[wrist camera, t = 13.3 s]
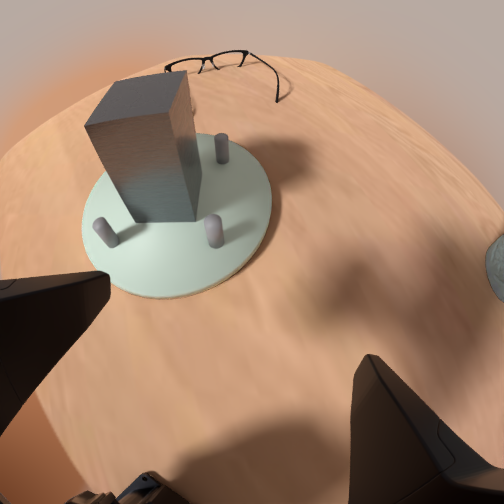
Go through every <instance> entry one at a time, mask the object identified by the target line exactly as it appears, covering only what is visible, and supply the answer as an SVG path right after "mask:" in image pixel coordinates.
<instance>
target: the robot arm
mask: <svg viewBox="0 0 504 504" xmlns="http://www.w3.org/2000/svg"><path fill="white" fill-rule="evenodd" d="M110 295H111V281H110V275H109V274H108V273H105V272H103V271H100V270H99V271H89V272H79V273H69V274H59V275H49V276H39V277H29V278H19V279H9V280H0V436H1V435H2V433H3V432H4V430H5V429H6V428H7V426H8V425H9V423H10V422H11V421H12V419H13V418H14V417H15V415H16V414H17V413H18V411H19V410H20V409H21V407H22V405H23V404H24V403H25V402H26V401H27V399H28V398H29V397H30V395H31V394H32V393H33V392H34V390H35V389H36V388H37V387H38V385H39V384H40V383H41V382H42V381H43V379H44V378H45V377H46V376H47V375H48V373H49V372H50V371H51V370H52V369H53V367H54V366H55V365H56V364H57V363H58V361H59V360H60V359H61V358H62V357H63V356H64V355H65V353H66V352H67V351H68V350H69V349H70V348H71V347H72V345H73V344H74V343H75V342H76V341H77V340H78V339H79V338H80V337H81V335H82V334H83V333H84V332H85V331H86V330H87V329H88V327H89V326H90V325H91V323H92V322H93V321H94V319H95V318H96V317H97V315H98V314H99V313H100V311H101V310H102V309H103V307H104V306H105V305H106V304H107V302H108V301H109V299H110ZM350 426H351V455H350V485H349V501H348V504H504V469H501V468H497V467H494V466H493V465H491V464H489V463H488V462H487V461H486V460H484V459H483V458H482V457H481V456H480V455H479V454H478V453H476V452H475V451H474V450H473V449H472V448H471V447H470V446H468V445H467V444H466V443H465V442H464V441H463V440H462V439H461V438H460V437H458V436H457V435H456V434H455V433H454V432H453V431H452V430H451V429H450V428H449V427H448V426H447V425H446V424H445V423H444V422H443V421H442V420H441V419H439V417H438V416H437V415H436V414H435V413H434V412H433V410H432V409H431V408H430V407H429V406H428V405H427V404H426V403H425V402H424V401H423V400H422V399H421V398H420V397H419V396H418V395H417V394H416V393H415V392H414V391H413V390H412V389H411V388H410V387H409V386H408V385H407V384H406V383H405V382H404V381H403V380H402V379H401V378H400V377H399V376H398V375H397V374H396V373H395V372H394V371H393V370H392V369H391V368H390V367H389V366H388V365H387V364H386V363H385V362H384V361H383V360H382V359H381V358H380V357H379V356H377V355H372V354H367V355H365V356H364V358H363V360H362V361H361V363H360V365H359V367H358V368H357V370H356V372H355V374H354V378H353V392H352V404H351V416H350ZM144 477H146V478H147V479H148V480H145V479H144ZM115 498H116V497H115V496H114V495H113V493H112V492H109V493H106V494H105V493H101V494H94V493H92V492H90V491H85V492H83V493H81V494H79V495H77V496H75V497H73V498H71V499H69V500H68V501H67V502H66V503H65V504H190V502H189V501H187V500H186V499H184V498H183V497H181V496H180V495H178V494H177V493H175V492H174V491H172V490H171V489H170V488H168V487H167V486H164V485H162V484H161V483H159V482H158V481H157V480H156V479H154V478H153V477H152V476H150V475H149V474H147V473H142V474H141V475H140V476H139V477H138V478H137V479H136V480H135V481H134V482H133V483H132V484H131V485H130V486H129V487H128V488H126V489H125V490H124V491H123V492H122V493H121V494H120V495H119V496H118V497H117V498H116V499H115ZM0 504H11V503H10V502H9V501H8V500H7V499H6V498H5V497H4V496H3V495H2V494H1V493H0Z"/></svg>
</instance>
